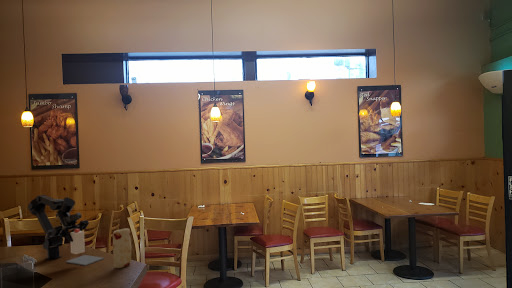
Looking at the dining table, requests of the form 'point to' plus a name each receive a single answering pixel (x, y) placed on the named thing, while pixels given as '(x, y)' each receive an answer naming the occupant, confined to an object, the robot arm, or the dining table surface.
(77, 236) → the big red button box
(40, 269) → the dining table surface
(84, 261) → the placemat
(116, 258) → the food model
